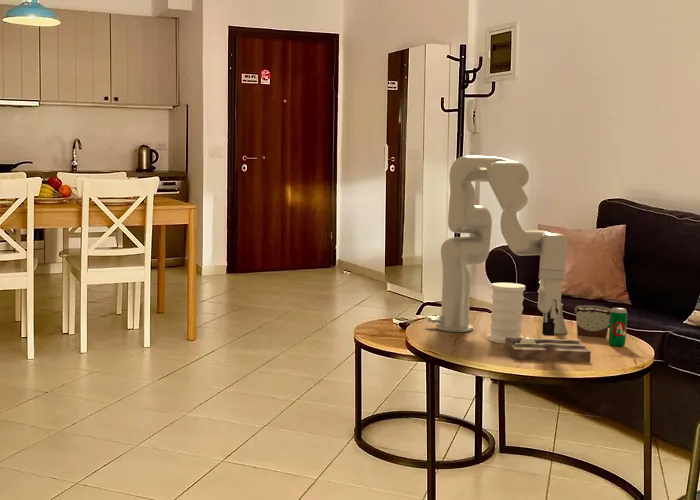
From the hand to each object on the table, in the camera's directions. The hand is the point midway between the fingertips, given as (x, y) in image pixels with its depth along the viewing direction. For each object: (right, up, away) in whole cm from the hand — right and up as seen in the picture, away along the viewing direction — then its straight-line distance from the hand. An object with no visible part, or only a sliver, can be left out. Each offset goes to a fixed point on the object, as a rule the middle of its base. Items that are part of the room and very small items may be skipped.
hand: (547, 335), depth 242 cm
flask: (+11, -3, +34) cm, 36 cm away
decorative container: (-9, -4, +19) cm, 22 cm away
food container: (+22, -4, +30) cm, 37 cm away
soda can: (+26, -5, +16) cm, 31 cm away
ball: (-6, -3, 0) cm, 7 cm away
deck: (0, -6, 0) cm, 6 cm away
